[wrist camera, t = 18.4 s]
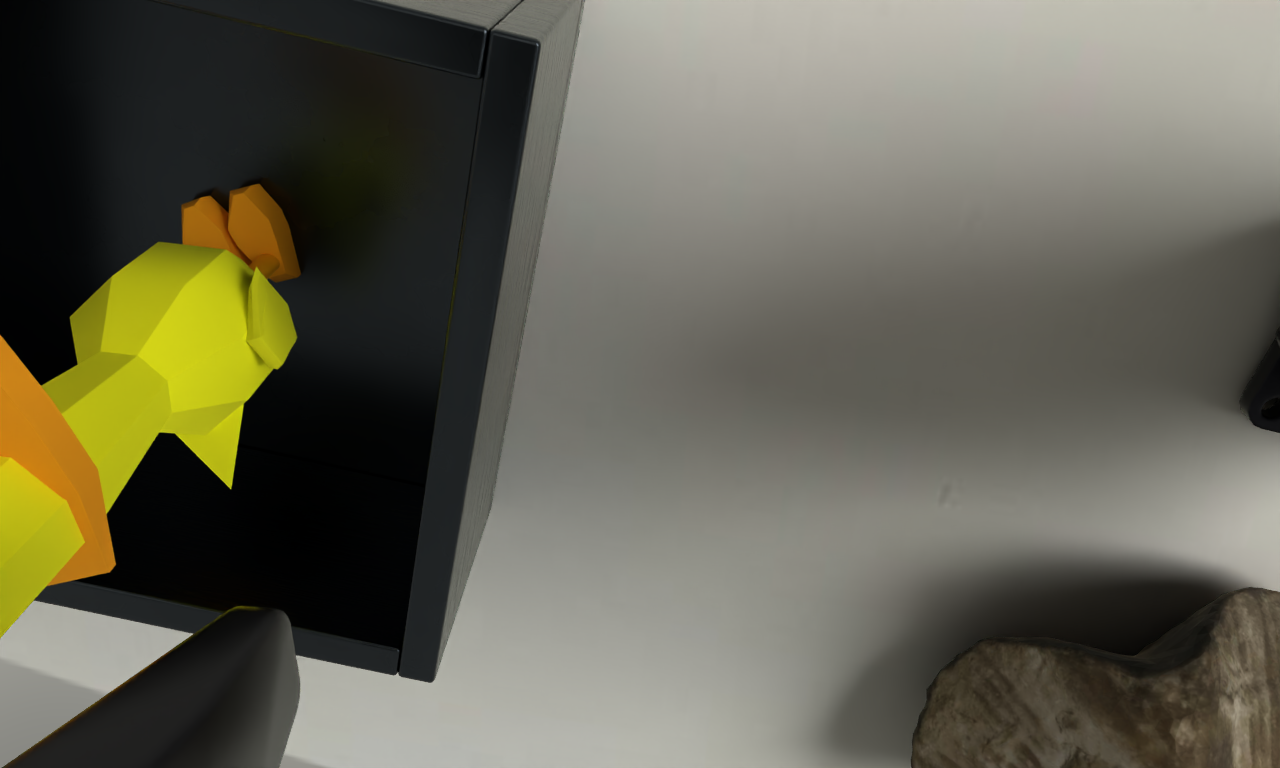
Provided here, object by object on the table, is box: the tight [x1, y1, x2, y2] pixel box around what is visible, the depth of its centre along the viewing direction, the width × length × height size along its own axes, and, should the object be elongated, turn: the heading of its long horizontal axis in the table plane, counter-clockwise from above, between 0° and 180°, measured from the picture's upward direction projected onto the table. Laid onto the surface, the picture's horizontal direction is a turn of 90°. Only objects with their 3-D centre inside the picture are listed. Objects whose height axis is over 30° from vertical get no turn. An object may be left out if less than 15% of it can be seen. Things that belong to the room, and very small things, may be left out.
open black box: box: [0, 0, 585, 683], centre depth 18 cm, size 12×12×6 cm
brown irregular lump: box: [911, 587, 1280, 768], centre depth 23 cm, size 8×7×10 cm
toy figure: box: [0, 184, 301, 638], centre depth 15 cm, size 7×4×12 cm, turn 17°
